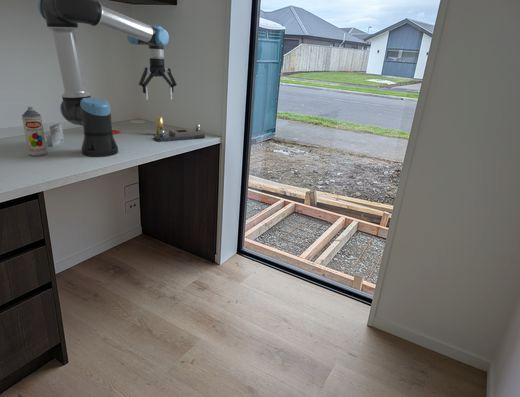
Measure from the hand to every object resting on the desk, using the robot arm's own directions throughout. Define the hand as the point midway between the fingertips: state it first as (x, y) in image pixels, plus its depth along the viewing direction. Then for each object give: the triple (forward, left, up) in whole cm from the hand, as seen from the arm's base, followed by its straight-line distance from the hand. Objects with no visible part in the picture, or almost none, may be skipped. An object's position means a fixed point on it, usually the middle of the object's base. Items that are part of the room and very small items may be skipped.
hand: (158, 99), depth 198 cm
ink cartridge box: (-53, -5, -20) cm, 57 cm away
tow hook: (-23, +14, -20) cm, 34 cm away
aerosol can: (-62, -22, -20) cm, 69 cm away
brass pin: (0, 0, -20) cm, 20 cm away
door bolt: (+8, -12, -20) cm, 24 cm away
